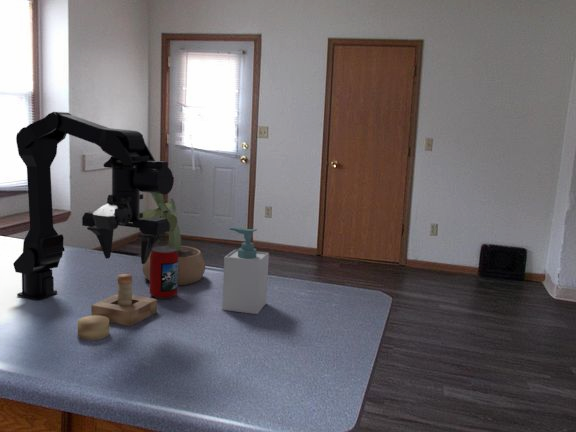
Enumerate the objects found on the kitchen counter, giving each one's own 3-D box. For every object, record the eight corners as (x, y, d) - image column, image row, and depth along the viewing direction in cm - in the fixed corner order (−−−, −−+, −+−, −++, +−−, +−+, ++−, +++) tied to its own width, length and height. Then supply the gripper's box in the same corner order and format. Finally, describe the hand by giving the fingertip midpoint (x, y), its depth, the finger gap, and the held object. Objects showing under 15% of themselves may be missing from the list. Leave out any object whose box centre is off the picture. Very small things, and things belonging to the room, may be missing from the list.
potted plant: (174, 266, 167) (177, 165, 162) (217, 279, 156) (221, 171, 151) (109, 280, 149) (109, 167, 144) (152, 296, 138) (154, 175, 133)
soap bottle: (232, 299, 140) (235, 223, 136) (266, 303, 138) (270, 227, 135) (221, 310, 131) (224, 230, 128) (257, 314, 130) (261, 233, 126)
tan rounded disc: (71, 337, 111) (70, 322, 110) (90, 327, 117) (90, 313, 116) (96, 342, 109) (96, 328, 109) (115, 332, 115) (115, 318, 114)
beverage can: (170, 301, 135) (171, 252, 133) (144, 297, 137) (145, 250, 135) (181, 293, 142) (182, 247, 140) (156, 290, 143) (157, 244, 141)
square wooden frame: (91, 318, 121) (91, 305, 121) (119, 305, 131) (119, 292, 130) (130, 326, 118) (131, 312, 118) (156, 311, 127) (157, 299, 127)
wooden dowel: (114, 316, 123) (114, 276, 122) (122, 312, 126) (123, 273, 125) (126, 318, 122) (126, 278, 121) (134, 314, 125) (134, 275, 124)
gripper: (63, 189, 115) (64, 263, 118) (142, 198, 109) (141, 275, 112) (98, 184, 126) (98, 252, 128) (171, 192, 120) (170, 263, 122)
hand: (125, 260), depth 122 cm, fingers open, 9 cm apart
